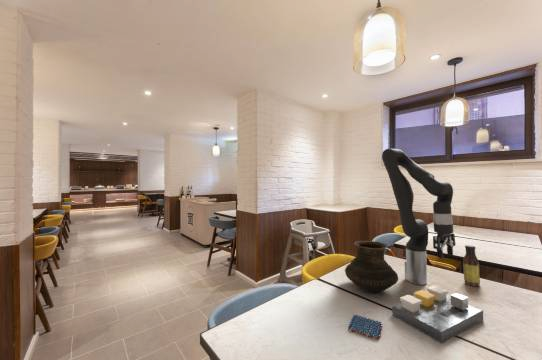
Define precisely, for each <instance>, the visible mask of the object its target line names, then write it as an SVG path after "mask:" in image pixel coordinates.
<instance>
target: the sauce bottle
mask: <svg viewBox="0 0 542 360" xmlns="http://www.w3.org/2000/svg"><path fill="white" fill-rule="evenodd" d="M464 248H465V254H464V256H463V259H462V260H463V266H462V267H463V281H464V284H465V285H468V286H472V287H479V286H480V284H481V277H480V262H479V259H478V257H477V255H476V246H475V245H470V244H465V246H464Z"/></svg>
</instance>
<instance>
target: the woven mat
mask: <svg viewBox="0 0 542 360" xmlns="http://www.w3.org/2000/svg"><path fill="white" fill-rule="evenodd" d="M381 325H382V326H381ZM347 327H348V329H347V330H348V331H349V330H350V331H349V332H350V333H352V332H353V331H354V332H355V333H356V335H358V334H359V335H360V336H362V337H364V336H365V337H366V338H370V337H372V339H373V340H374V339H375V340H376V341H377V340H378V339H379V340H380V339H381V338H382V337H381V335H382V330H383V323H382V321H380V320H379V321H378V320H375V319H372V318H369V317H368V318H367V317H365V316H362V315H359V314H353V316H352V318H351V321H350V323H349V326H347ZM351 331H352V332H351ZM361 334H362V335H361ZM379 335H380V336H379Z"/></svg>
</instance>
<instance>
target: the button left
mask: <svg viewBox="0 0 542 360" xmlns="http://www.w3.org/2000/svg"><path fill="white" fill-rule="evenodd" d="M415 297H416V296H414V295H410V294H406V295H403V296H401V297H399V301H401V302H402V307H403V308H405V309H407V310H409V311H411V312H413V313H414V312H416V311H419V310H420V304H422V300H420V299H417V298H415Z"/></svg>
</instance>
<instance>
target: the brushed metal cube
mask: <svg viewBox="0 0 542 360" xmlns="http://www.w3.org/2000/svg"><path fill="white" fill-rule="evenodd" d="M450 297H451V305H452V306H454V307H457V308H459V309H461V310H464V309H466V308H468V305H469V296H466V295H463V294H460V293H458V292H454V293H453V294H450Z"/></svg>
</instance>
